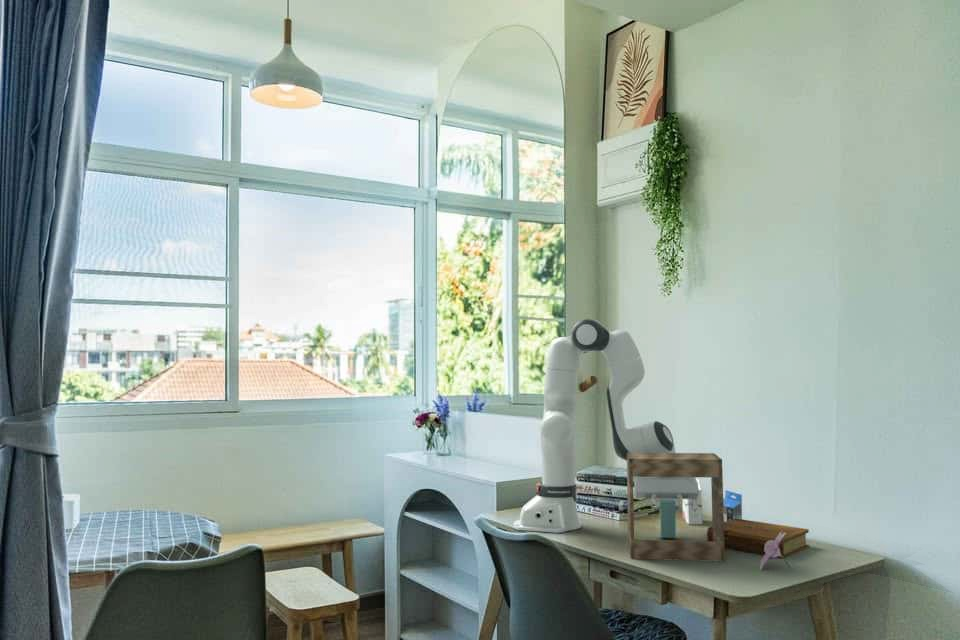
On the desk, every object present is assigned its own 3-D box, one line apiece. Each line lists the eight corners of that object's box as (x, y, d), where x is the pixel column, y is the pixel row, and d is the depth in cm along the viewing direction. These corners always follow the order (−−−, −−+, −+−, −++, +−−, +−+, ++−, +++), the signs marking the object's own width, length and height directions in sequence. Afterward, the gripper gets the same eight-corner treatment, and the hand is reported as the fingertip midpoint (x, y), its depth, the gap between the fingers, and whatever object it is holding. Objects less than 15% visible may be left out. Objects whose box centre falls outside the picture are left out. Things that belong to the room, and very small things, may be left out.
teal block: (661, 537, 237) (660, 501, 238) (660, 534, 241) (660, 499, 242) (675, 537, 237) (675, 502, 238) (674, 535, 240) (674, 500, 241)
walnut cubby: (630, 558, 215) (629, 458, 217) (628, 546, 229) (626, 452, 231) (724, 561, 212) (722, 459, 213) (716, 548, 226) (714, 453, 227)
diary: (707, 547, 230) (706, 528, 230) (736, 536, 243) (735, 518, 243) (783, 560, 213) (782, 539, 214) (809, 548, 227) (808, 528, 227)
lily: (770, 562, 214) (752, 532, 214) (809, 552, 206) (791, 521, 207) (759, 586, 204) (741, 555, 205) (800, 576, 197) (780, 544, 197)
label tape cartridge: (716, 528, 252) (715, 490, 252) (726, 527, 253) (725, 490, 254) (733, 534, 243) (732, 495, 244) (743, 533, 245) (742, 494, 245)
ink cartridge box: (681, 519, 266) (681, 476, 267) (696, 519, 266) (695, 476, 267) (688, 524, 258) (687, 480, 258) (702, 524, 258) (701, 480, 258)
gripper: (631, 466, 249) (634, 502, 239) (696, 466, 246) (701, 503, 236) (631, 477, 253) (633, 513, 243) (694, 478, 250) (700, 514, 240)
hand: (667, 508), depth 240 cm, fingers closed on teal block, 4 cm apart
